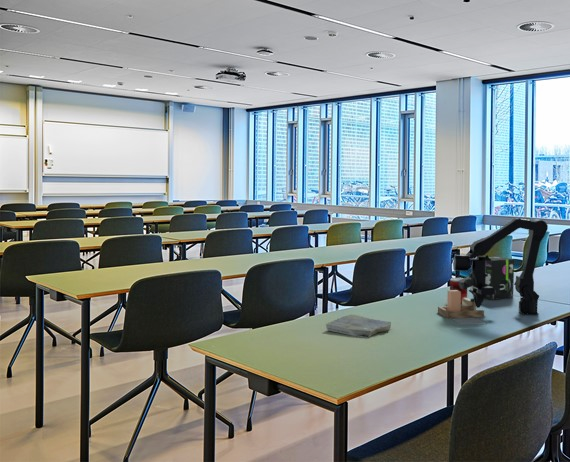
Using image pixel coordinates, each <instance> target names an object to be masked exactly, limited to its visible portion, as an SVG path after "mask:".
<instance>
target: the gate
mask: <svg viewBox="0 0 570 462" xmlns="http://www.w3.org/2000/svg"><path fill="white" fill-rule="evenodd" d="M472 305H473V306H474V311H475V310H477V307H476V304H475V300H474V298H468V297H467V298H462V304H461V306H472Z"/></svg>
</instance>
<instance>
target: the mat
mask: <svg viewBox="0 0 570 462" xmlns="http://www.w3.org/2000/svg"><path fill="white" fill-rule="evenodd" d="M451 320H452V321H454V322H456V323H457V324H458V325H460V326H475V325H487V323H486V322H484V321H482V320H480V319H478V318H477V317H472V318H451Z"/></svg>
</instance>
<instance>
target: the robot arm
mask: <svg viewBox="0 0 570 462" xmlns="http://www.w3.org/2000/svg"><path fill="white" fill-rule="evenodd" d="M519 229H523V230H528V240H529V241H528V244H527V249H526V254H525V258H524V262H523V266H522V272H521V274H520V275H515V280H514V281H515V282H514V288H515V291H516V292H517V293H518V294H519V296H520V300H519V301H518V312H519V313H520V314H522V315H535V316H536V315H539V314H540V313H538V302H539V301H538V300H539V298H540V295H539V294H538V293H537V292H536V291H535V289H534V287H535V281H534V273H535V270H536V269H535V268H536V263H537V259H538V254H539V250H540V247H541V242H542V241H543V239H544V238H545V236H546V233H547V232H548V229H549V226H548V224H547V222H546V221H545V220H542V219H539V218H538V219H533V220H528V219H527V220H526V219H521V218H517V217H514V218H513V219H512V220H510V221H508V223H506V224H505V225H503V226H502V227H500V228H499V229H498V230H497V229H496V231H494V232H493V233H491V234H490V235H488V236H485V237H482V238H480V239H477V240H476V241H473V242H472V243H471V246H470V249H469V251H468V252H467V253H466V254H463V255H462V254H460V255H459V254H454V257H453V262H452V264H453V265H452V266H453V268H452V269H453V271H455V272H464V271H465V272H468V271H469V270H471V272H470V273H469V275H468V276H467V277H464V279H461V280H459V281H458V283H459V286H460V288H462V289H467V290H468V292H469V293H470V294H472V297H473V299H474V301H475V304H476V309H477V308H478V309H480V307H481V306H482V305H483V302H484V300H485V299H486V298H485V297H486V295H491V294H495V292H496V290H495V289H494V288H493V287H491V286H488V284H487V283H486V277H487V276H488V274H486V261H491V259H490V258H489V257H490V256H488V253H489V251H491V249H493V247H494V246H495V245H496V244H497V243H499V242H501V241H502V240H503V239H505V238H506V237H507V236H510V235H511V234H512V233H515V232H516V231H517V230H519ZM468 288H469V289H468Z"/></svg>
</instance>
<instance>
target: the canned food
mask: <svg viewBox="0 0 570 462" xmlns="http://www.w3.org/2000/svg"><path fill="white" fill-rule="evenodd" d="M464 278H465V277H464ZM464 278H463V277H451V278H450V280H449V290H458V291H460V292H461V305H462V298H468V288H467V289H462V288H460V286H459V283H458V281H459V280H461V279H464Z"/></svg>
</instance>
